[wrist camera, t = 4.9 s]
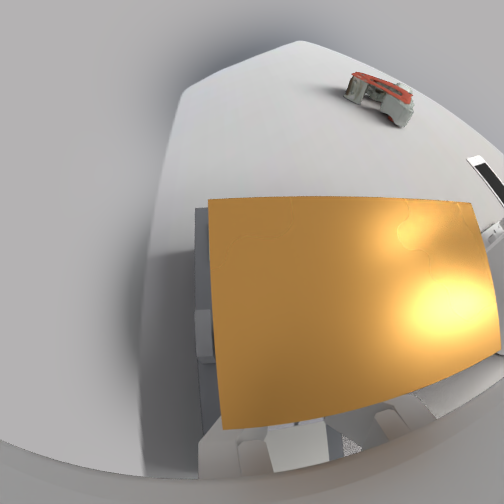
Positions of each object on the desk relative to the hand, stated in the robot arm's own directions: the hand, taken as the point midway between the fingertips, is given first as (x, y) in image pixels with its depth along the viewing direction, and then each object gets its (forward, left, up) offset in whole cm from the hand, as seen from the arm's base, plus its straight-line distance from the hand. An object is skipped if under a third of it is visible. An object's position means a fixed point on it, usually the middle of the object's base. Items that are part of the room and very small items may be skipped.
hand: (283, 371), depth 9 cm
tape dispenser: (-47, -23, -14) cm, 54 cm away
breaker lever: (-2, -2, -6) cm, 7 cm away
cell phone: (-55, +3, -14) cm, 56 cm away
